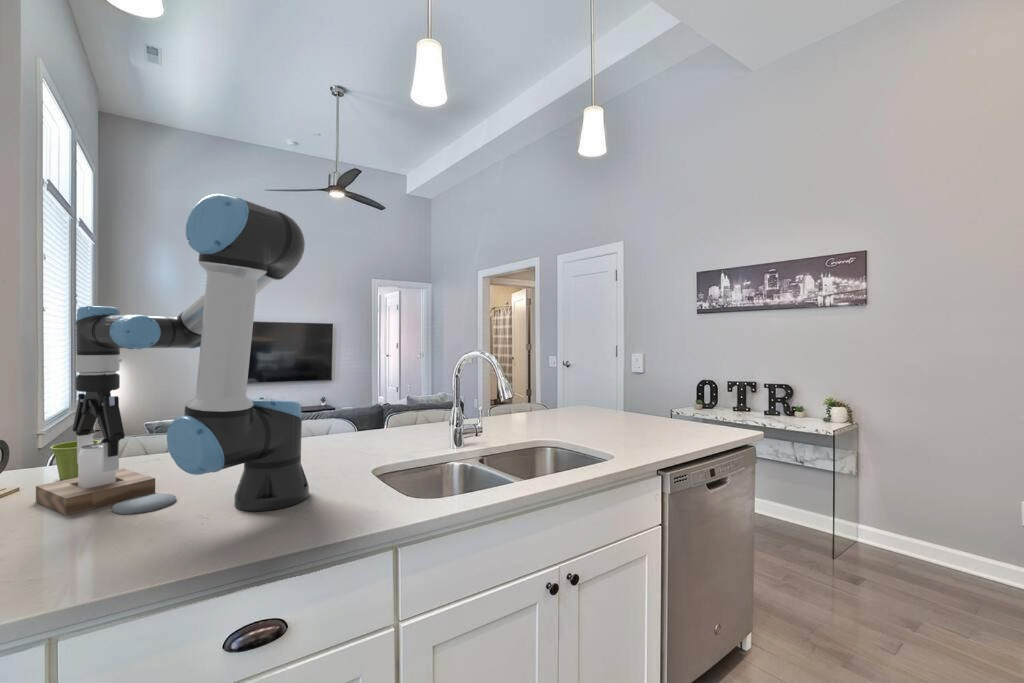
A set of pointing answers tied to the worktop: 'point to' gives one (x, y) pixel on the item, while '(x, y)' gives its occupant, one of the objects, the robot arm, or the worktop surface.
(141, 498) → the slate mat
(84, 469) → the can
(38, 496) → the pocket block
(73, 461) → the plant pot
